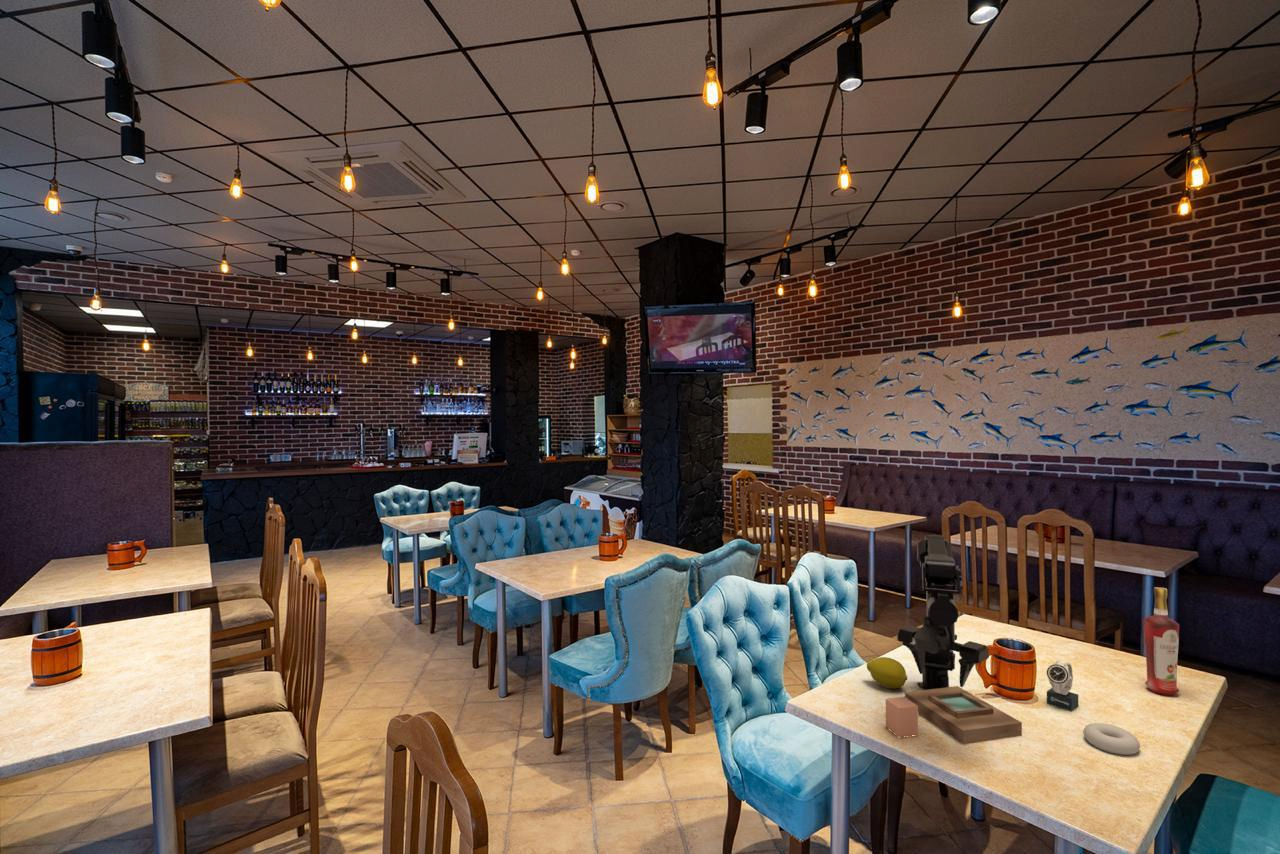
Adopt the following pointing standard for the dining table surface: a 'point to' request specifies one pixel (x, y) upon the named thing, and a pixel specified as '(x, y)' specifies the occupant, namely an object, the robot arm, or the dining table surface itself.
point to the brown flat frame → (964, 715)
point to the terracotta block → (902, 716)
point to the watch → (1061, 686)
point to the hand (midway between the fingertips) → (941, 679)
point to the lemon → (887, 672)
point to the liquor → (1161, 647)
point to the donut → (1111, 738)
